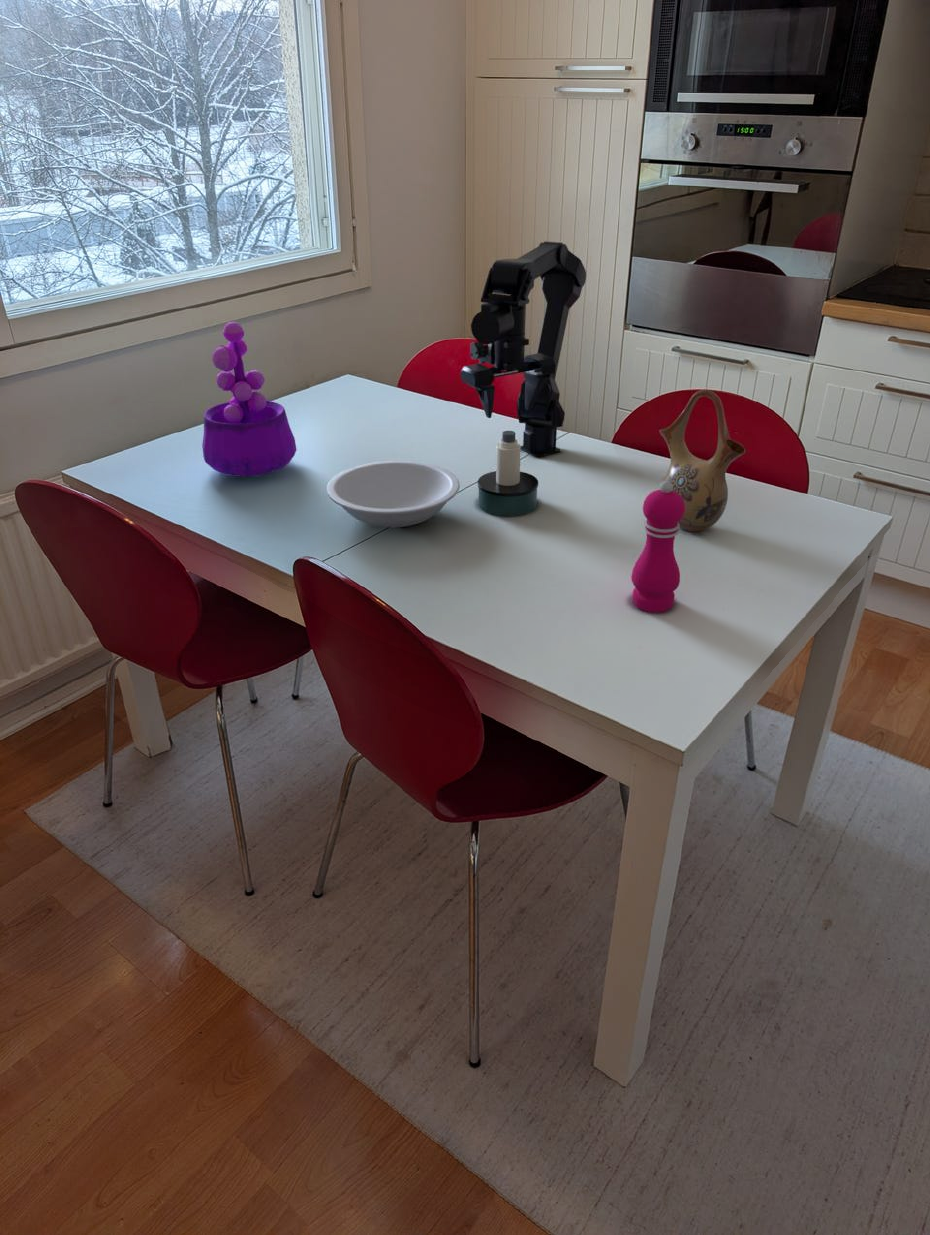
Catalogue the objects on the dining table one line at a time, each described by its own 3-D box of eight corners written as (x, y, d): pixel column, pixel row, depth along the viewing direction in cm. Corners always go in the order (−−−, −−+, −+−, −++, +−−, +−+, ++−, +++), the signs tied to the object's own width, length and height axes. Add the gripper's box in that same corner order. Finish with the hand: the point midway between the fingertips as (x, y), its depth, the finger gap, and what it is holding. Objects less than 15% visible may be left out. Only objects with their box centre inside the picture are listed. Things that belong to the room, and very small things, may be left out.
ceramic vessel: (743, 533, 158) (767, 394, 145) (715, 549, 152) (737, 406, 140) (665, 506, 168) (681, 374, 155) (637, 521, 162) (651, 385, 150)
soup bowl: (305, 535, 158) (302, 500, 155) (364, 485, 178) (362, 454, 174) (430, 555, 151) (429, 520, 148) (477, 501, 170) (477, 469, 167)
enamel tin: (515, 488, 176) (515, 466, 174) (549, 507, 168) (550, 485, 165) (466, 500, 171) (466, 478, 169) (499, 521, 163) (499, 498, 160)
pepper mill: (624, 592, 140) (635, 472, 130) (669, 590, 140) (684, 470, 130) (635, 615, 134) (648, 492, 123) (682, 613, 134) (699, 490, 124)
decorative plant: (269, 492, 175) (249, 337, 160) (188, 481, 180) (161, 329, 165) (313, 459, 190) (298, 314, 175) (237, 449, 195) (216, 308, 180)
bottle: (511, 475, 170) (512, 427, 165) (524, 482, 166) (525, 433, 162) (491, 480, 168) (492, 431, 163) (504, 487, 164) (505, 438, 160)
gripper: (526, 318, 177) (523, 395, 185) (445, 330, 169) (446, 410, 177) (559, 329, 169) (555, 409, 177) (476, 342, 161) (476, 426, 169)
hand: (508, 413), depth 175 cm, fingers open, 9 cm apart
